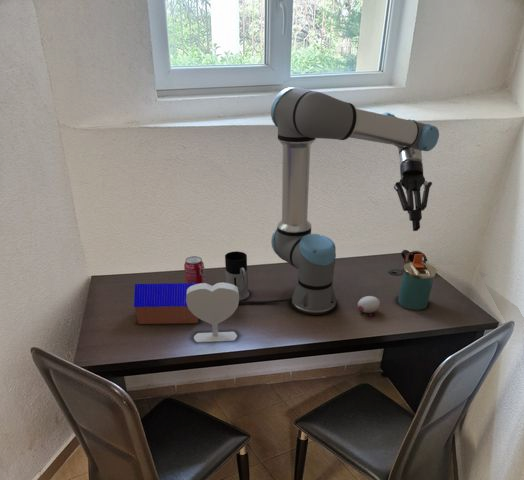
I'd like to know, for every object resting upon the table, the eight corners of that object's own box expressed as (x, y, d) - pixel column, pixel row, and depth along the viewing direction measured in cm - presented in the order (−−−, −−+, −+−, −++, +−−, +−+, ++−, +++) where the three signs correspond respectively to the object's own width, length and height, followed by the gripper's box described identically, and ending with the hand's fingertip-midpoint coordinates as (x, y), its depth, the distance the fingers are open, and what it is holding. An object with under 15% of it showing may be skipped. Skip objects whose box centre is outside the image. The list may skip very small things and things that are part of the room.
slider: (412, 263, 157) (414, 254, 155) (421, 263, 157) (423, 253, 155) (415, 268, 154) (417, 258, 152) (424, 267, 154) (426, 258, 152)
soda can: (203, 284, 173) (201, 254, 166) (207, 292, 168) (205, 262, 161) (185, 286, 171) (181, 256, 164) (188, 295, 166) (185, 265, 159)
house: (198, 323, 151) (195, 292, 144) (137, 324, 150) (131, 293, 144) (201, 305, 160) (198, 274, 154) (143, 305, 160) (138, 275, 153)
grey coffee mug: (244, 287, 171) (244, 249, 162) (257, 305, 160) (257, 265, 152) (222, 290, 169) (220, 252, 160) (233, 309, 158) (232, 269, 149)
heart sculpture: (240, 331, 147) (238, 280, 137) (240, 340, 143) (238, 288, 133) (191, 333, 146) (185, 282, 136) (190, 342, 142) (184, 290, 132)
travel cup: (393, 295, 166) (400, 260, 158) (422, 294, 166) (430, 259, 158) (401, 310, 158) (409, 274, 149) (432, 310, 158) (441, 273, 150)
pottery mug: (430, 268, 185) (433, 256, 177) (414, 283, 183) (416, 271, 176) (407, 252, 190) (409, 240, 183) (391, 267, 188) (392, 254, 181)
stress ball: (373, 315, 161) (370, 296, 161) (384, 313, 153) (382, 293, 153) (353, 318, 159) (351, 298, 159) (364, 316, 151) (361, 296, 151)
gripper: (395, 159, 157) (401, 224, 153) (433, 158, 157) (439, 224, 153) (389, 171, 164) (394, 234, 160) (425, 170, 165) (431, 233, 161)
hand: (416, 229), depth 157 cm, fingers closed
